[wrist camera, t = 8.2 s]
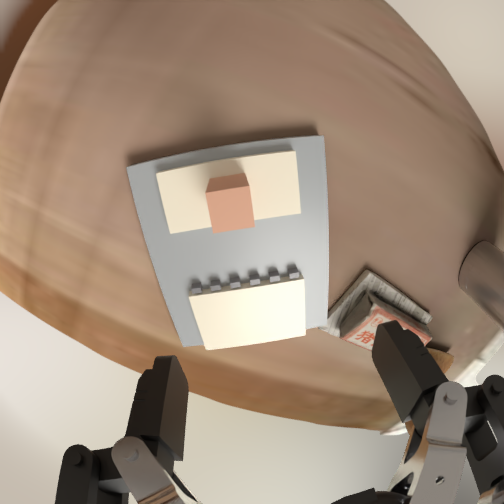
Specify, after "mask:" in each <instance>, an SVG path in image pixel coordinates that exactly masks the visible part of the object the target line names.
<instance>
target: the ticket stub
mask: <svg viewBox="0 0 504 504" xmlns="http://www.w3.org/2000/svg"><path fill="white" fill-rule="evenodd" d="M156 176H157V181H158V186H159V190H160V194H161V199H162V203H163V207H164V211H165V215H166V219H167V223H168V227H169V231H170V234H173V233H179V232H185V231H190V230H196V229H202V228H208V227H212V230H213V234H214V233H220V232H226V231H232V230H239V229H245V228H252V227H255V222H254V220H259V219H266V218H272V217H279V216H286V215H293V214H301V207H300V193H299V181H298V170H297V159H296V151H294V150H287V151H278V152H269V153H261V154H254V155H246V156H239V157H233V158H226V159H220V160H214V161H209V162H203V163H198V164H192V165H187V166H182V167H177V168H173V169H168V170H163V171H159V172H157V173H156Z"/></svg>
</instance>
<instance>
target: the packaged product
mask: <svg viewBox="0 0 504 504" xmlns="http://www.w3.org/2000/svg"><path fill="white" fill-rule="evenodd" d="M431 319H432V316H431V315H430V314H429V313H428V312H426V311H424V310H423V309H422V308H420V307H419V306H418V305H417V304H416V303H415V302H413V301H412V300H411V299H409V298H408V297H407V296H406V295H404V294H403V293H402V292H401V291H399V290H398V289H396V288H395V287H394V286H392V285H391V284H389V283H388V282H387V281H385V280H384V279H382V278H381V277H379V276H378V275H376V274H374V273H373V272H371V271H369V270H367V269H366V270H365V271H364V272H363V273H362V274H361V275H360V277H359V278H358V279H357V280H356V281H355V282H354V284H353V285H352V286H351V287H350V288H349V289H348V291H347V292H346V293H345V294H344V295H343V296H342V297H341V298H340V299H339V301H338V302H337V303H336V304H335V305H334V306H333V307H332V308H331V310H330V311H329V312H328V314H327V325H324V326H319V327H318V329H320V330H323V331H325V332H327V333H329V334H331V335H334V336H337V337H339V338H341V339H343V340H345V341H348V342H350V343H352V344H355V345H357V346H360V347H362V348H365V349H367V350H370V351H372V347H373V343H374V338H375V334H376V329H377V326H378V324H381V323H385V322H388V321H392V320H397V321H398V322H399V324H400V325H401V326H402V328H403V329H404V330H406V329H409V330H411V331H412V332H414V333H415V334H416V335H418V336H419V338H420V339H421V341H422V342H423V343H424V346H426V344H427V343H428V342H429V341H430V340H431V339H432V336H431V333H430V332H429V329H428V327H427V326H426V325H427V324H428V323H429V322H431Z"/></svg>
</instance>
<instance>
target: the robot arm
mask: <svg viewBox="0 0 504 504" xmlns="http://www.w3.org/2000/svg"><path fill="white" fill-rule="evenodd" d="M459 285H460V287H461V289H462V290H463V291H464V292H466V293H467V294H468V295H469V296H470V297H471V298H472V299H473V300H474V301H475V303H476V304H477V305H478V306H479V307H480V308H481V309H482V310H483V311H484V312H485V313H486V314H487V315H488V316H489V317H490V318H491V319H492V320H493V321H494V322H495V323H496V324H497V326H498V327H499V328H500V329H501V330H502V331H503V332H504V252H503V251H501V250H500V249H499V248H497V247H496V246H494V245H492V244H491V243H489V242H488V241H482V242H480V243H478V244H477V245H476V246H474V248H473V249H472V250H471V251H470V252H469V254H468V255H467V257H466V259H465V260H464V263H463V265H462V267H461V270H460V275H459ZM372 359H373V362H374V364H375V366H376V368H377V370H378V372H379V374H380V376H381V378H382V380H383V382H384V385H385V387H386V389H387V391H388V393H389V395H390V397H391V399H392V401H393V403H394V406H395V408H396V410H397V412H398V414H399V416H400V419H401V421H402V423H405V422H407V421H410V420H412V422H413V424H414V425H413V427H412V430H411V433H410V437H409V440H408V443H407V446H406V449H405V452H404V455H403V458H402V461H401V464H400V466H399V468H398V470H397V471H396V473H395V475H394V476H393V478H392V480H391V482H390V485H389V487H388V489H387V491H377V492H375V489H374V488H372V489H368V490H366V491H362V492H360V493H356V494H353V495H349V496H346V497H343V498H341V499H340V500H338V501H335V502H333V503H331V504H454V501H455V497H456V494H457V490H458V487H459V483H460V480H461V476H462V472H463V468H464V463H465V458H466V456H467V459H468V461H469V464H470V467H471V469H472V472H473V475H474V478H475V481H476V484H477V487H478V489H479V493H480V498H479V500H478V503H477V504H504V378H503V377H501V376H499V375H491V376H489V377H487V378H486V379H485V381H484V383H483V384H482V385H478V386H472V387H463V386H462V385H461V384H459V383H457V382H453V381H449V380H448V379H447V378H446V376H445V375H444V373H443V372H442V370H441V369H440V367H439V366H438V364H437V363H436V361H435V360H434V358H433V357H432V355H431V354H429V351H428V349H427V348H426V346H424V343H423V342H422V341H421V339H420V338H419V336H418V335H416V334H415V333H414V332H412V331H411V330H409V329H406V330H404V329H403V328H402V326H401V325H400V324H399V322H398V321H397V320H392V321H388V322H385V323H381V324H378V326H377V329H376V334H375V338H374V343H373V347H372ZM188 391H189V390H188V382H187V379H186V376H185V374H184V372H183V370H182V368H181V366H180V363H179V361H178V359H177V357H176V356H175V355H172V356H157V357H156V358H155V361H154V365H153V369H147V370H145V371H144V373H143V374H142V376H141V377H140V378H139V380H138V384H137V388H136V393H135V396H134V401H133V404H132V408H131V413H130V417H129V421H128V426H127V430H126V434H125V436H124V438H122V439H120V440H118V441H117V442H116V443H115V444H114V446H113V447H111V448H106V449H100V450H93V451H91V450H89V449H88V448H87V447H85V446H83V445H79V444H77V445H73V446H71V447H69V448H68V449H67V450H66V452H65V453H64V456H63V460H62V465H61V470H60V475H59V481H58V487H57V493H56V500H55V504H128V497H129V492H131V493H132V495H133V496H134V498H135V499H136V501H137V503H138V504H202V503H201V502H200V501H199V500H198V499H197V498H196V496H195V495H194V494H193V493H192V492H191V491H190V489H189V488H188V487H187V486H186V485H185V484H184V482H183V481H182V480H181V478H180V477H179V476H178V475H177V473H176V472H175V471H174V470H173V466H174V461H175V460H176V461H183V451H184V438H185V425H186V413H187V402H188ZM487 421H489V423H490V425H491V427H492V429H493V431H494V433H495V435H496V438H497V441H498V444H497V442H496V439H495V437H494V435H493V433H492V431H491V429H490V427H489V425H488V422H487Z"/></svg>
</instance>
